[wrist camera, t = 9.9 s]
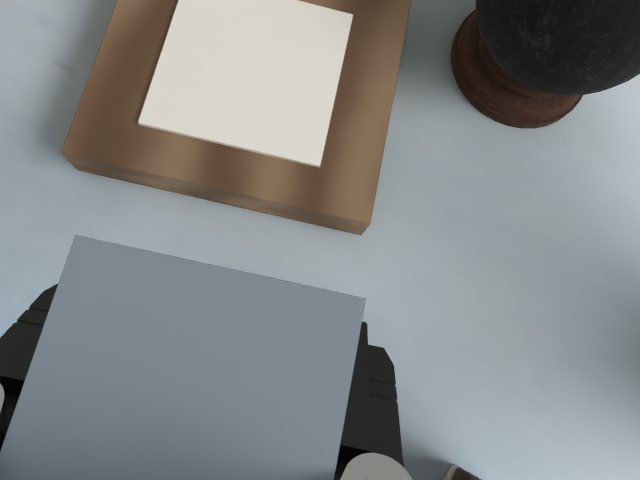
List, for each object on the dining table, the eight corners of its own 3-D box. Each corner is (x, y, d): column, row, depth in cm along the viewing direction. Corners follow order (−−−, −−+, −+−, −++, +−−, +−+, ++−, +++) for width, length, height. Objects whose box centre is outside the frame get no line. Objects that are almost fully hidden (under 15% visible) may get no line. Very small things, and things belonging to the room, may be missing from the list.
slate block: (311, 333, 18) (365, 298, 9) (282, 478, 17) (307, 632, 7) (177, 304, 18) (74, 234, 8) (136, 450, 17) (-41, 570, 7)
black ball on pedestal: (472, -29, 42) (584, -235, 27) (611, 39, 42) (797, -131, 27) (414, 93, 38) (507, -70, 24) (566, 168, 38) (751, 50, 24)
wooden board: (400, 24, 40) (413, -6, 37) (361, 235, 35) (371, 222, 32) (153, -41, 38) (143, -77, 35) (78, 170, 34) (59, 150, 31)
